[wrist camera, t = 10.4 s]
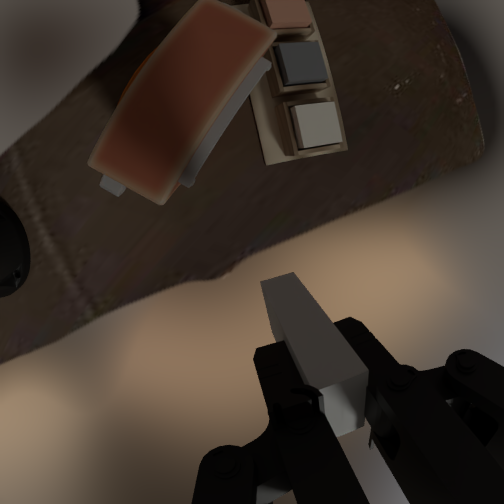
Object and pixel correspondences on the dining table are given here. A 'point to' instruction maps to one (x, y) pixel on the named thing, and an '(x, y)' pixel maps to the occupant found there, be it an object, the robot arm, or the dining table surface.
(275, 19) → the terracotta key
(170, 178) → the terracotta and grey box
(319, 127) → the ivory key
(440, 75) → the dining table surface
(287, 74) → the graphite key
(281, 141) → the keypad board
